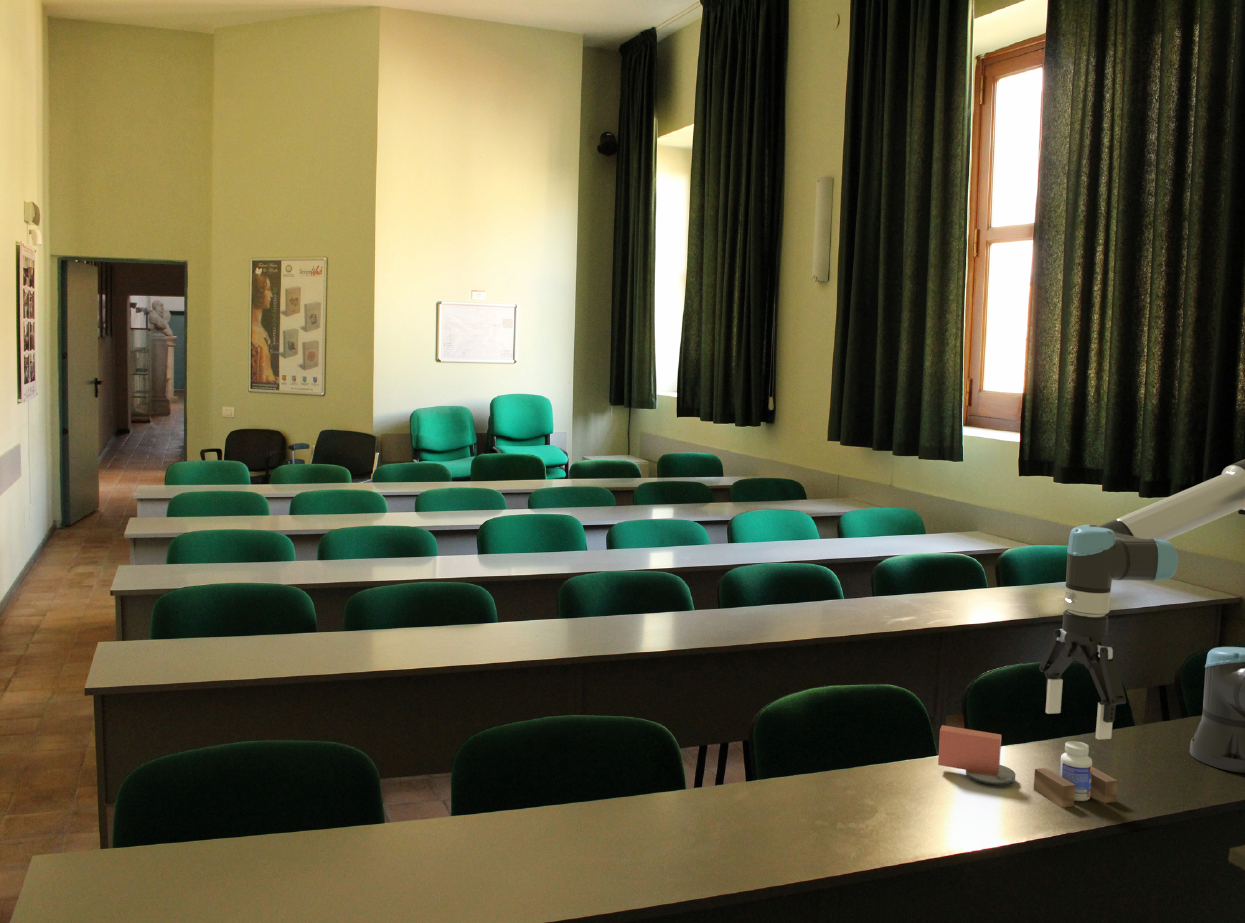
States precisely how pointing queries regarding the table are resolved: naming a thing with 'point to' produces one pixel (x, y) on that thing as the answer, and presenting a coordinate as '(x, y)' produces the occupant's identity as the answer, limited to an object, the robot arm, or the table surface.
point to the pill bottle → (1077, 768)
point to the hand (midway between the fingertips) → (1077, 725)
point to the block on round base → (974, 754)
